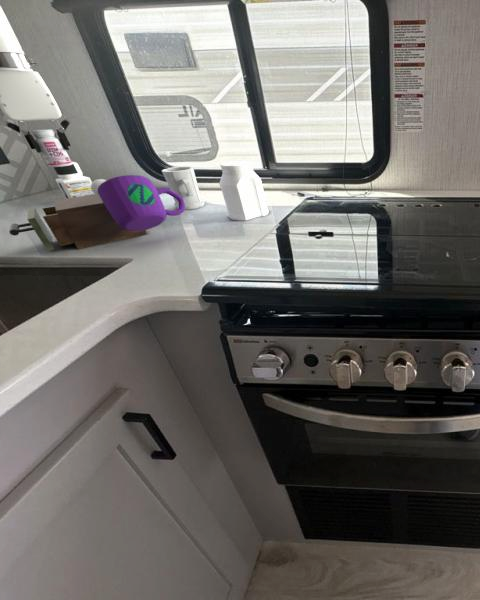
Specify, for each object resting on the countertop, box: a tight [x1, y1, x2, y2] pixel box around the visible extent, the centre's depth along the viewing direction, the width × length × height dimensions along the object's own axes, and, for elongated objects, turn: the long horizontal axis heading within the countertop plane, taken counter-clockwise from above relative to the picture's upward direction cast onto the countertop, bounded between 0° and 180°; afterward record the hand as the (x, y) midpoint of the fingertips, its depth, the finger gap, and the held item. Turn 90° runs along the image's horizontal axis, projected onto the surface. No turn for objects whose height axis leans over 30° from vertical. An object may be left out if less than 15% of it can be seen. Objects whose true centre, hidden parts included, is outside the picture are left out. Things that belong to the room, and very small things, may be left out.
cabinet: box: [53, 194, 148, 250], centre depth 87 cm, size 15×13×10 cm
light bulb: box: [91, 178, 108, 194], centre depth 106 cm, size 6×6×10 cm
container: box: [53, 161, 94, 199], centre depth 117 cm, size 8×8×13 cm
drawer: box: [9, 205, 75, 252], centre depth 82 cm, size 18×11×8 cm, turn 133°
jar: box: [218, 160, 269, 221], centre depth 99 cm, size 12×10×15 cm
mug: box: [98, 174, 186, 231], centre depth 84 cm, size 17×11×10 cm
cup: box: [161, 166, 206, 211], centre depth 108 cm, size 10×9×12 cm
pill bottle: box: [31, 128, 73, 168], centre depth 84 cm, size 5×5×8 cm
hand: (53, 150), depth 85 cm, fingers closed on pill bottle, 4 cm apart
